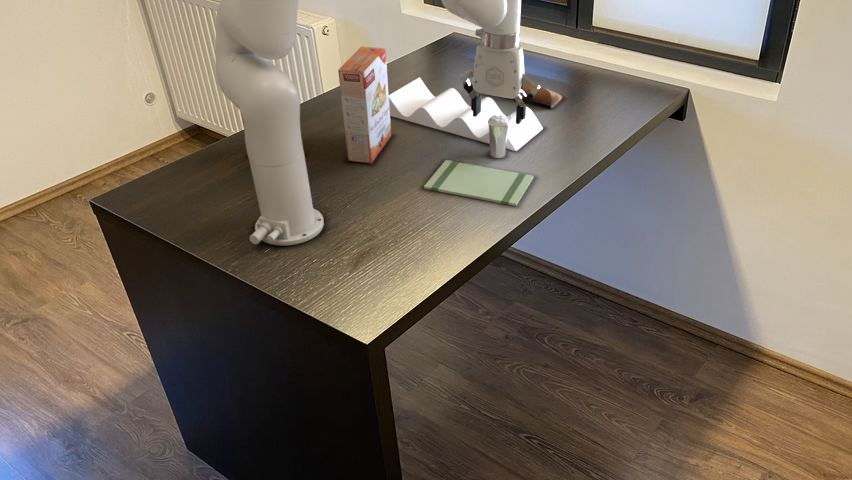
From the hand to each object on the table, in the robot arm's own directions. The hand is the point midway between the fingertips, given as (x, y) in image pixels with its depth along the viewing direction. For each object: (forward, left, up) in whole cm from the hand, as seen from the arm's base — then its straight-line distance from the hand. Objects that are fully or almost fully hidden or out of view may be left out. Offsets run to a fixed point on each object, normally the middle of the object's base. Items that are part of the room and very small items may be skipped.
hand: (498, 117), depth 160 cm
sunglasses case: (+32, +4, -9) cm, 34 cm away
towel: (-13, 0, -9) cm, 16 cm away
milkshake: (0, 0, -9) cm, 9 cm away
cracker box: (-7, +28, -9) cm, 30 cm away
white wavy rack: (+13, +13, -9) cm, 21 cm away
